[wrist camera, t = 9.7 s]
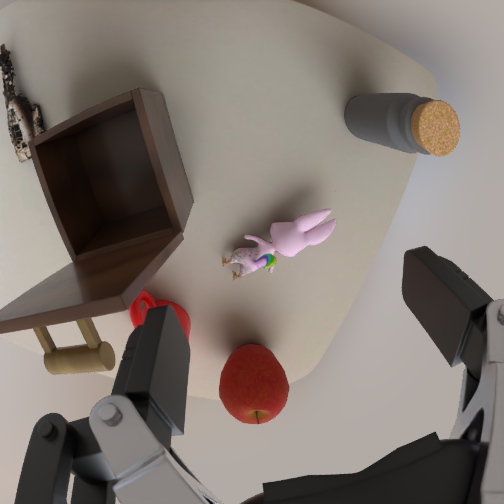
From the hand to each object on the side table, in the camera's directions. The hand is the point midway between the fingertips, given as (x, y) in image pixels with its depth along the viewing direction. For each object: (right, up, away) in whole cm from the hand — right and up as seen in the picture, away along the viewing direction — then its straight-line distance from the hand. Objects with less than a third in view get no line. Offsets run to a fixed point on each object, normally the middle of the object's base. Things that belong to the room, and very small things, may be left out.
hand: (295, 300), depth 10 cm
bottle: (+12, +18, +23) cm, 32 cm away
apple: (-2, -15, +38) cm, 41 cm away
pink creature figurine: (+2, +4, +29) cm, 29 cm away
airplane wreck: (-31, +22, +17) cm, 41 cm away
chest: (-16, +12, +23) cm, 30 cm away
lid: (-14, 0, +10) cm, 17 cm away
